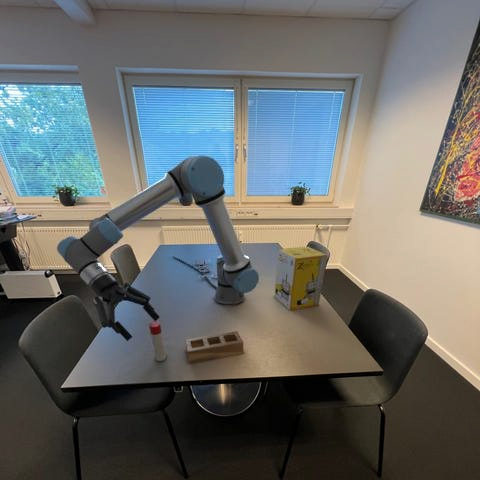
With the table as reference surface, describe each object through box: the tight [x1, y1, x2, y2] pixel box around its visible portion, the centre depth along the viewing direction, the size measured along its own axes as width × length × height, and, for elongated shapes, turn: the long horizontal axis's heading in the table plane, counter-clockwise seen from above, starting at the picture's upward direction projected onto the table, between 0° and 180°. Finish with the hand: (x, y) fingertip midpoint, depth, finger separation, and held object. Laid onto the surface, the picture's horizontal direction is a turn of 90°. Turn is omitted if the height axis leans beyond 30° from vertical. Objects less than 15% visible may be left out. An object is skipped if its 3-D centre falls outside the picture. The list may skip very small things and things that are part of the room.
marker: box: [148, 321, 167, 362], centre depth 88 cm, size 4×4×14 cm
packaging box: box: [274, 246, 328, 311], centre depth 126 cm, size 16×16×25 cm
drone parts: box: [194, 258, 217, 279], centre depth 171 cm, size 23×35×3 cm, turn 11°
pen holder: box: [184, 330, 244, 364], centre depth 93 cm, size 8×20×5 cm, turn 107°
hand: (144, 328), depth 87 cm, fingers open, 13 cm apart
